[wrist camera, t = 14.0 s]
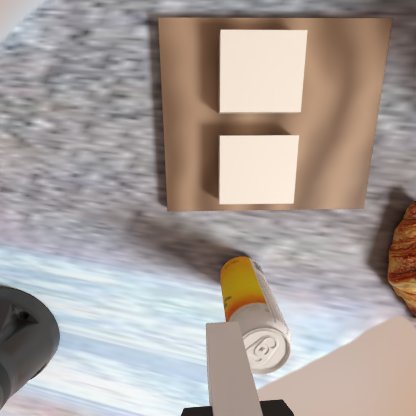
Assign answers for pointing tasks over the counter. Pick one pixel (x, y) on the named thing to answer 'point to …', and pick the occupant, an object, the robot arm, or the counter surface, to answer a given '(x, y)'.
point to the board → (274, 122)
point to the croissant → (404, 258)
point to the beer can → (255, 314)
